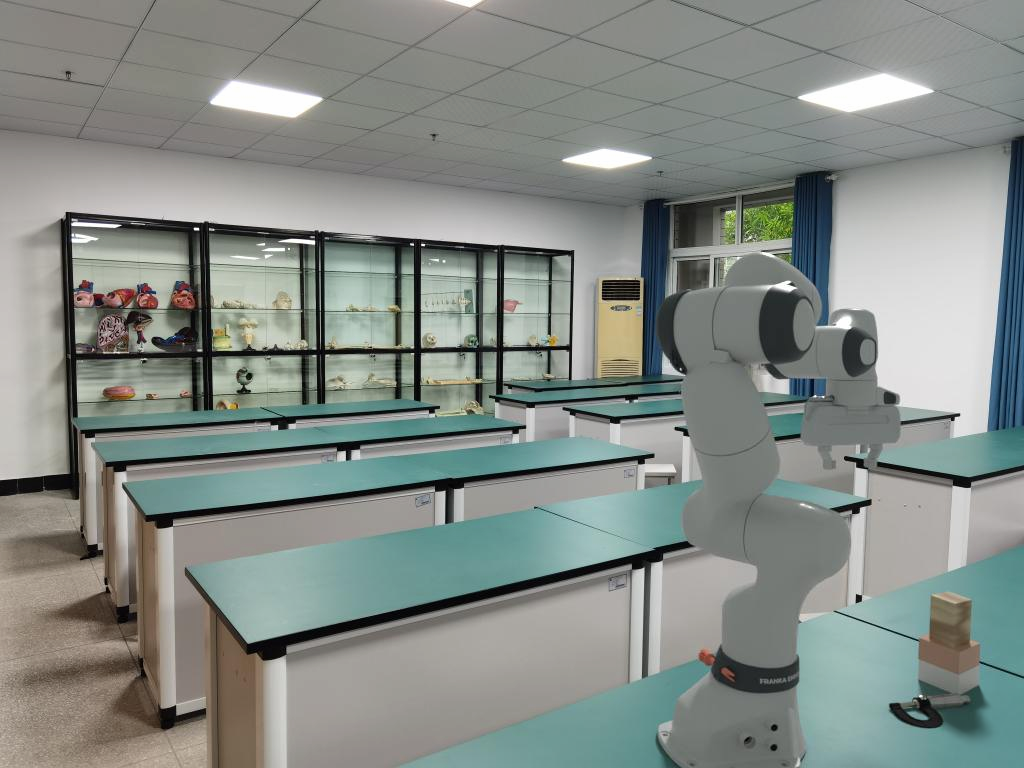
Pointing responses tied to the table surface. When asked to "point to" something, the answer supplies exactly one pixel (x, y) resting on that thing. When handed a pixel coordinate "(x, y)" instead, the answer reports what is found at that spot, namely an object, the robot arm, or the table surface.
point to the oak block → (950, 619)
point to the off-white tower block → (948, 678)
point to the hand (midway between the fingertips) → (850, 468)
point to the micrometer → (928, 708)
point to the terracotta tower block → (949, 655)
